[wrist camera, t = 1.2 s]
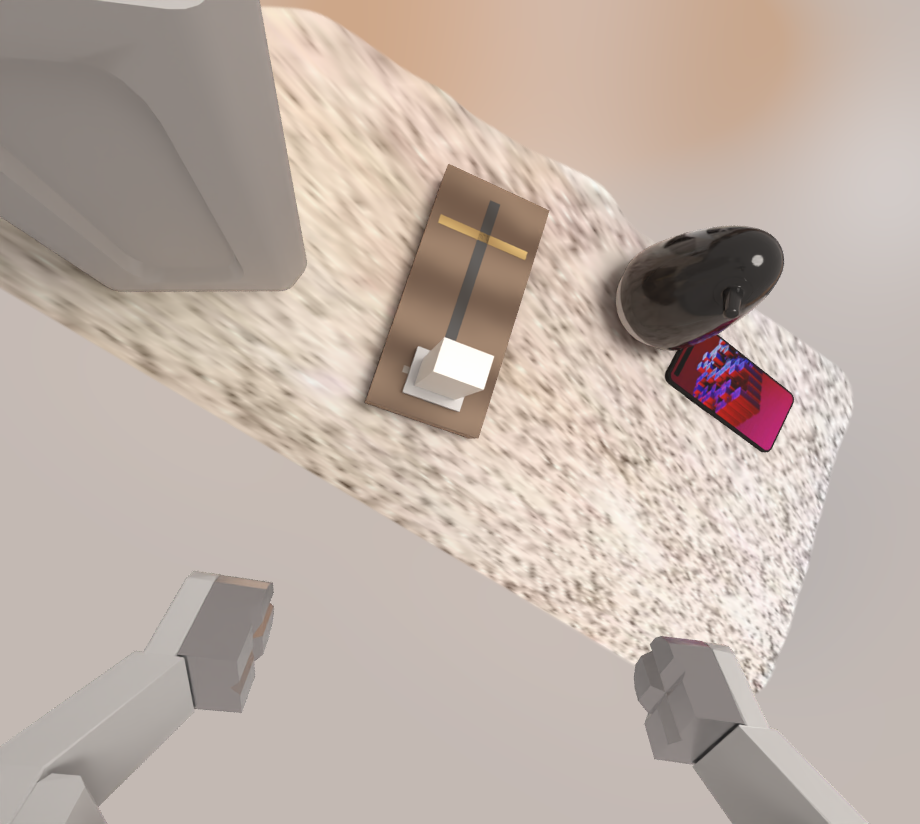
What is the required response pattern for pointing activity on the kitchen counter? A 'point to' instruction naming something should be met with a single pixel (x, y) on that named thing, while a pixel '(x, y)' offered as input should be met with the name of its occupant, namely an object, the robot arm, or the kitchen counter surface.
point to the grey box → (148, 143)
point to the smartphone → (732, 390)
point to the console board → (460, 293)
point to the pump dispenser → (697, 284)
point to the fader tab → (447, 373)
